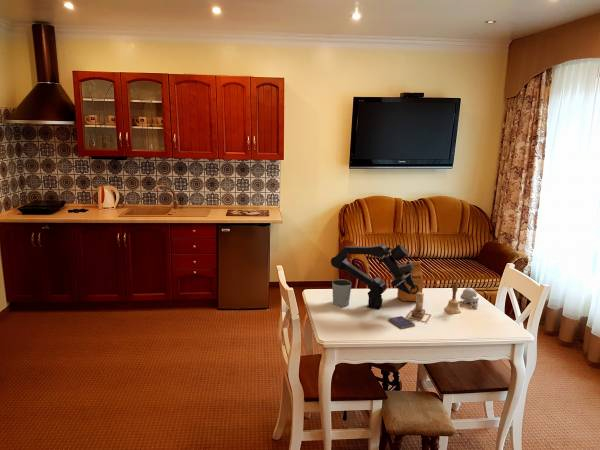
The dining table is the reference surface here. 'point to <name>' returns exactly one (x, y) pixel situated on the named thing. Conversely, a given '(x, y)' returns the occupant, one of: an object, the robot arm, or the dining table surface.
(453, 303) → the hand bell
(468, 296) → the round bodied animal figurine
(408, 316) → the marked card
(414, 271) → the coffee package
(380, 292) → the robot arm
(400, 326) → the ink pad
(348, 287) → the grey cup
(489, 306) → the dining table surface
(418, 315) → the stamp
